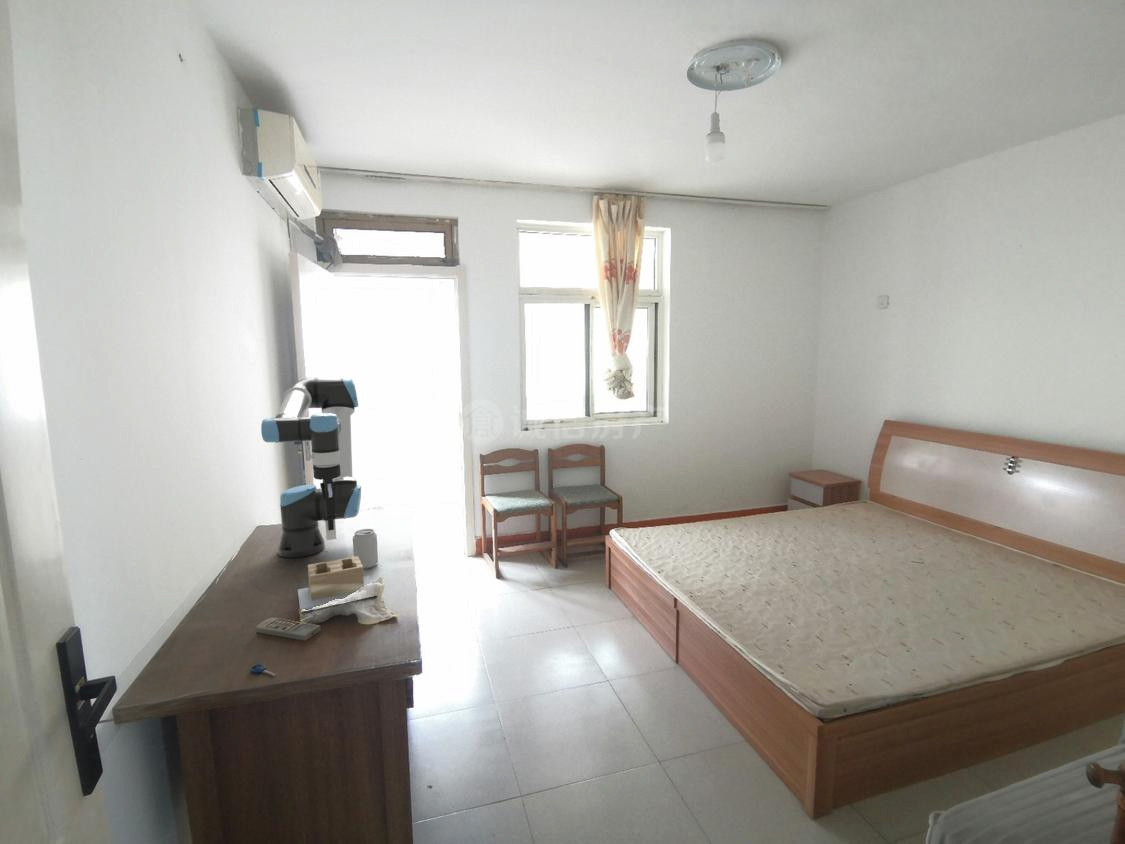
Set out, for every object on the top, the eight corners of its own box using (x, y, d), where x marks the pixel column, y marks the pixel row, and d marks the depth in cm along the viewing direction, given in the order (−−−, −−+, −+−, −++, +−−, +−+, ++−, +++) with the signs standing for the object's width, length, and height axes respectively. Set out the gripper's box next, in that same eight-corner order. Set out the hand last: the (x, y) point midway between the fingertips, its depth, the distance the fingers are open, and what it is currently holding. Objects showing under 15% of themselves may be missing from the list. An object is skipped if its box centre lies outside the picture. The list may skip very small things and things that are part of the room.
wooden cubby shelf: (309, 587, 155) (307, 564, 154) (359, 577, 161) (357, 555, 161) (311, 600, 146) (310, 576, 145) (364, 589, 153) (363, 566, 152)
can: (370, 571, 170) (368, 535, 168) (349, 569, 171) (347, 534, 170) (382, 562, 177) (380, 528, 175) (362, 560, 178) (360, 527, 177)
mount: (297, 593, 153) (297, 579, 153) (369, 579, 163) (368, 566, 163) (300, 613, 141) (299, 598, 141) (377, 596, 151) (376, 582, 150)
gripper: (311, 461, 161) (316, 534, 164) (314, 470, 150) (320, 548, 153) (337, 459, 165) (341, 530, 168) (342, 467, 154) (347, 543, 157)
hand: (331, 538), depth 161 cm, fingers closed
